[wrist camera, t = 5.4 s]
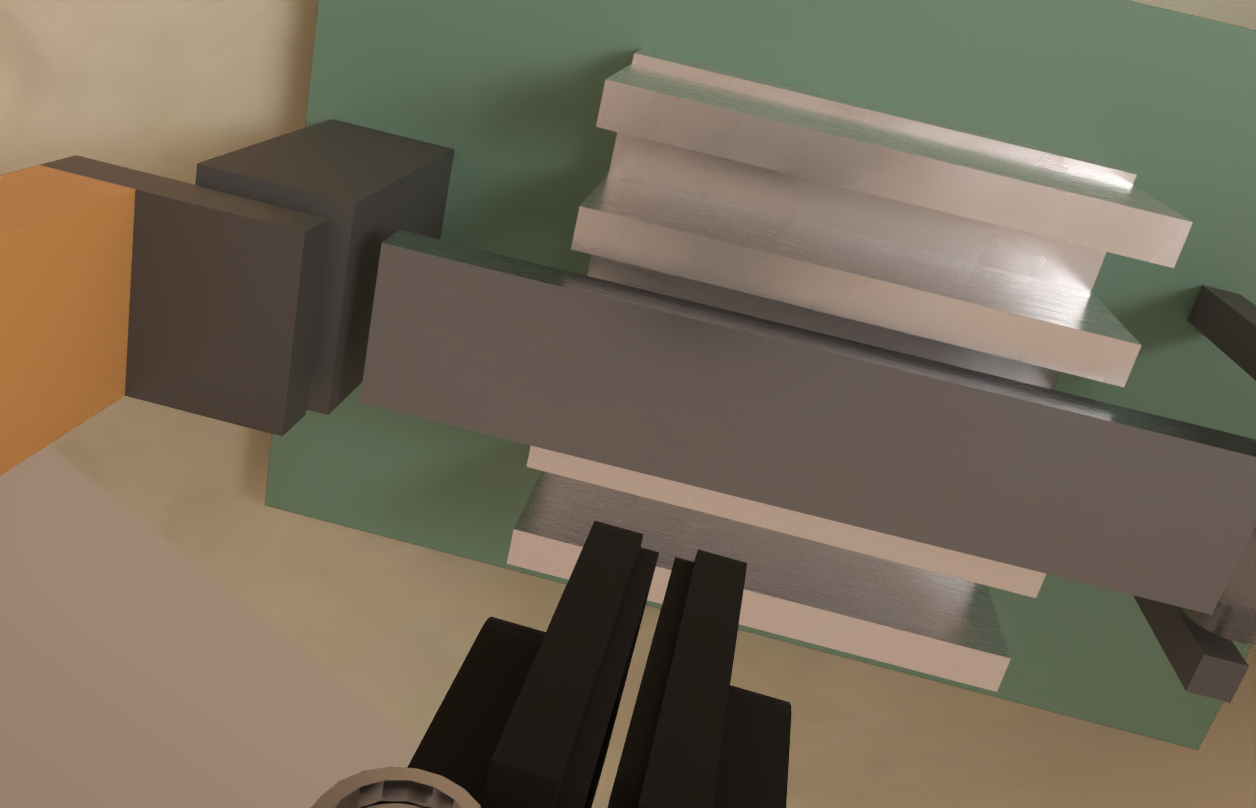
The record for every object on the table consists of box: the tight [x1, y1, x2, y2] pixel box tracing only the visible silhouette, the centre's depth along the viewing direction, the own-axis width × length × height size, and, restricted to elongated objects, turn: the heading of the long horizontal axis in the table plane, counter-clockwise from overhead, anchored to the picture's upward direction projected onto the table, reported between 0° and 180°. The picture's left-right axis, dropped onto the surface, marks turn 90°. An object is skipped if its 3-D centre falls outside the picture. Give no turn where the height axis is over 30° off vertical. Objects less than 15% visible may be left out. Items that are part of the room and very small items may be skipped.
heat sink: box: [507, 48, 1193, 692], centre depth 23 cm, size 10×10×5 cm
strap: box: [360, 230, 1256, 644], centre depth 20 cm, size 17×4×1 cm, turn 78°
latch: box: [0, 156, 329, 475], centre depth 17 cm, size 4×4×4 cm
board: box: [196, 0, 1256, 750], centre depth 23 cm, size 24×16×8 cm, turn 78°
